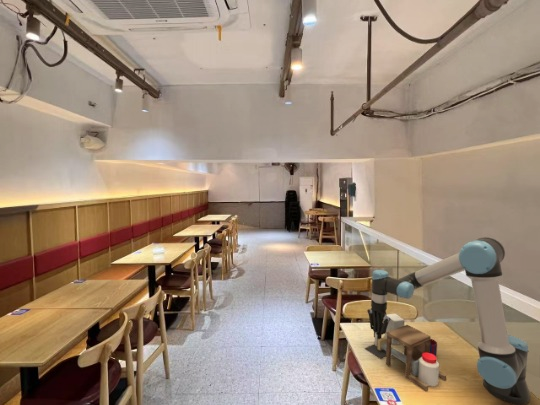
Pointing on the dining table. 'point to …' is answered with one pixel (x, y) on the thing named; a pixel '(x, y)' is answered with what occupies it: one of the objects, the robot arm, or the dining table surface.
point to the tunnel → (410, 349)
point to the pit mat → (376, 351)
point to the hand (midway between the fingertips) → (377, 344)
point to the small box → (394, 325)
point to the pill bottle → (428, 369)
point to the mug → (433, 347)
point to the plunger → (398, 355)
